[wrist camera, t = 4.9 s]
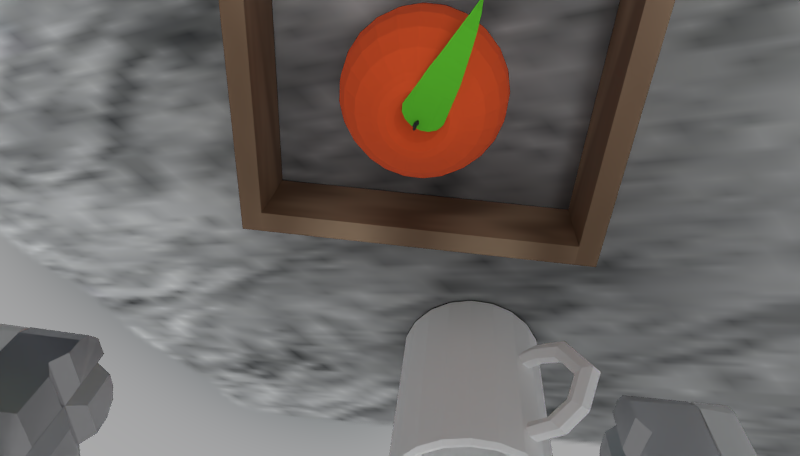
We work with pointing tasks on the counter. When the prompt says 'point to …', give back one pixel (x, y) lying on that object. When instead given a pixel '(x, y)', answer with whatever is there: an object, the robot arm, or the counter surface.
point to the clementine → (424, 89)
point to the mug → (483, 386)
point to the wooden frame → (432, 215)
